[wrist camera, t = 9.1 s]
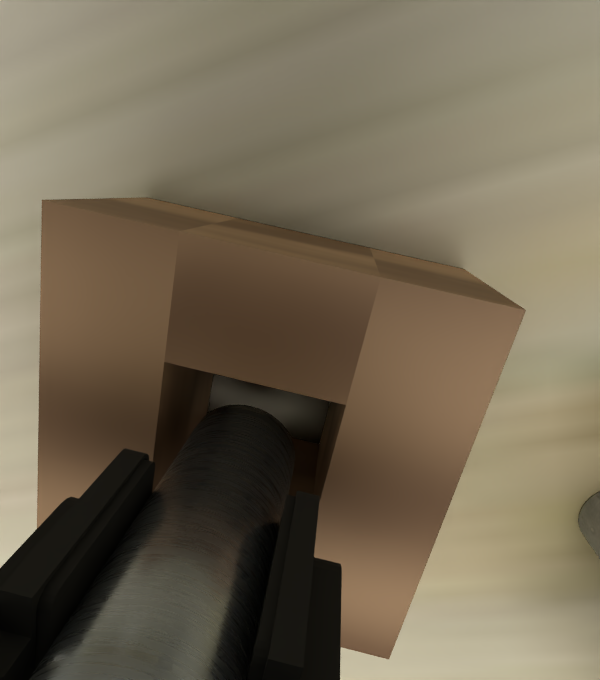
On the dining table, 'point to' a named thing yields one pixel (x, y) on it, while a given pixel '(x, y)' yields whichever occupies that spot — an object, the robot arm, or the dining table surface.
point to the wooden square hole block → (270, 371)
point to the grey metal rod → (187, 563)
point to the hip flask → (591, 522)
